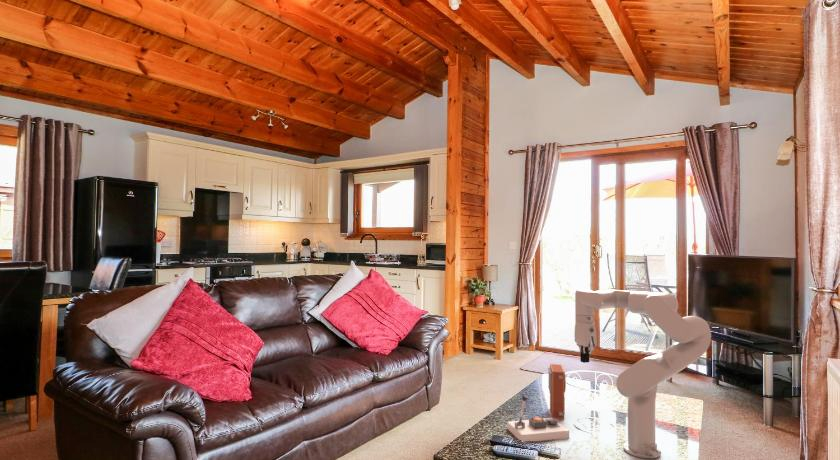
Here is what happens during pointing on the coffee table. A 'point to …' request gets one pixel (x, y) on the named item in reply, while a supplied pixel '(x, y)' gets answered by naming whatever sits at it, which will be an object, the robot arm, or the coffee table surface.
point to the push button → (537, 419)
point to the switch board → (537, 430)
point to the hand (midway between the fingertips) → (584, 361)
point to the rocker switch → (552, 421)
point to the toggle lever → (522, 411)
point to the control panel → (557, 391)
